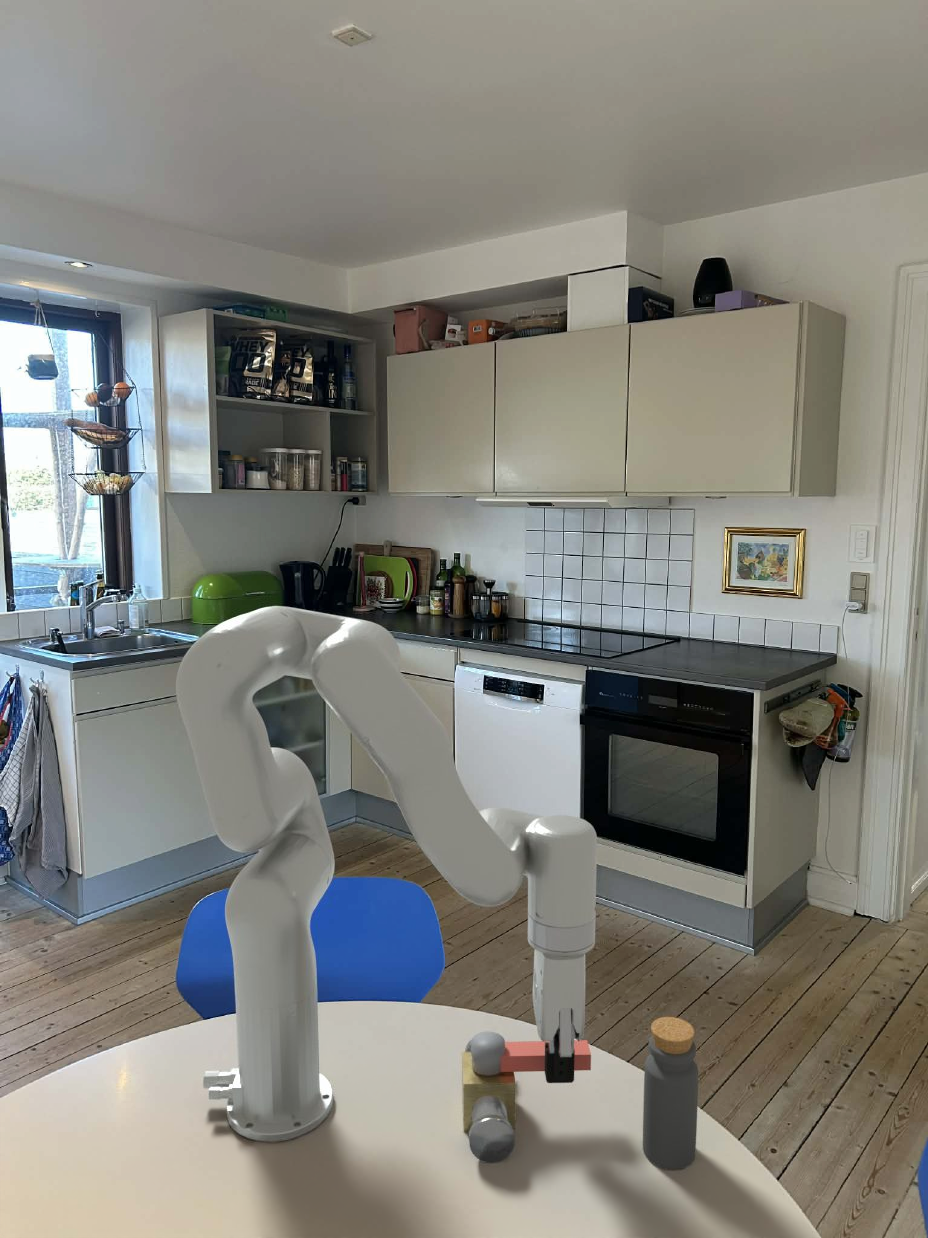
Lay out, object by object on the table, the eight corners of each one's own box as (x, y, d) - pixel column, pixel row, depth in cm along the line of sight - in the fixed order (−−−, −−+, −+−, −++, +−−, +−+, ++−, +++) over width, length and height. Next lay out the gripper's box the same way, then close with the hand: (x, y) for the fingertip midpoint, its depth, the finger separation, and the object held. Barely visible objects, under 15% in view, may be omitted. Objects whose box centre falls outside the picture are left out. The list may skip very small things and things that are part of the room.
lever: (471, 1076, 106) (471, 1052, 106) (470, 1055, 110) (470, 1032, 110) (591, 1073, 107) (592, 1050, 106) (586, 1052, 111) (586, 1029, 110)
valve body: (464, 1163, 101) (464, 1114, 100) (461, 1071, 117) (460, 1028, 116) (519, 1162, 101) (519, 1113, 100) (507, 1070, 117) (507, 1027, 116)
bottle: (682, 1179, 99) (686, 1051, 97) (633, 1155, 102) (636, 1031, 100) (703, 1148, 103) (708, 1025, 101) (656, 1126, 107) (659, 1007, 105)
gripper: (522, 898, 109) (521, 1040, 112) (534, 963, 95) (532, 1124, 97) (584, 898, 110) (582, 1039, 112) (606, 962, 95) (602, 1123, 97)
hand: (559, 1078), depth 105 cm, fingers closed
